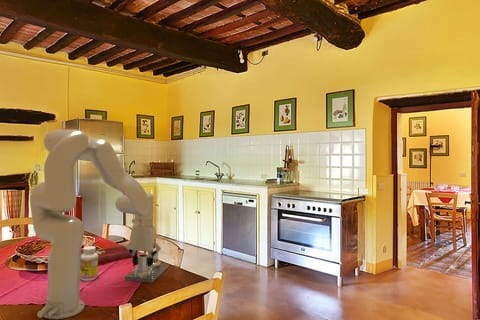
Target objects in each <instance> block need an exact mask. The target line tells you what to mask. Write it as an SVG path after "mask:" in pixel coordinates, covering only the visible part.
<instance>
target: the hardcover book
mask: <svg viewBox="0 0 480 320" xmlns="http://www.w3.org/2000/svg"><path fill="white" fill-rule="evenodd" d="M95 253H97V254H98V266H100V265H103V264H107V263H112V262H113V263H114V262H117V261H122V260H127V259H133V256H132V254H131V253H130V252H129V250H128V249H127V248H126V245H124V244H122V245H121V244H120V245H117V246H111V247H105V248H104V247H103V248H99V249H96V250H95Z"/></svg>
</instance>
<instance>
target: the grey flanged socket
mask: <svg viewBox="0 0 480 320" xmlns="http://www.w3.org/2000/svg"><path fill="white" fill-rule="evenodd" d="M148 258H149V255H148V253H140V254H138V255H137V265H135V266H136V267H135V268H134V269H135V270H134V269H132V271H133V275H134V277H141V278H144V277H149V276H150V274H152V269H150V267H148Z"/></svg>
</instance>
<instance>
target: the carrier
mask: <svg viewBox="0 0 480 320" xmlns="http://www.w3.org/2000/svg"><path fill="white" fill-rule="evenodd" d="M147 254H148V253H147ZM148 255H149V254H148ZM169 265H170V264H169V263H162V262H161V260H160V259H159V251H158V252H157V253H156V254H155V255H154V256H153V264H152V265H151V266H150V269H152V274H150V276H149V277H144V278H141V277H134V275H133V270H135V268H134V269H133V270H131V271H130V272H129V273H128V274H126V275H125V276H124V281H130V282H139V283H148V284H149V283H154V282H155V281H156V279H158V278H159V277H160V276H161V275H162V274H163V273H164V272H165V271H166V270H167V269H168V268H169Z"/></svg>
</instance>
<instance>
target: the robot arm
mask: <svg viewBox="0 0 480 320" xmlns="http://www.w3.org/2000/svg"><path fill="white" fill-rule="evenodd" d="M43 138H44V139H43V146H44V148H45V149H46V150H47V152H49V153H48V155H47V157H46V159H45V162H44V165H43V178H44V179H43V180H44V181H43V182H42V181H41V182H39V183H38V184H36V185H35V186H34V187H33V189H32V191H31V192H30V193H31V194H30V195H29V196H30V197H29V202H30V203H29V204H30V211H31V218H32V219H31V220H32V226H33V232H34V234H35V235H36V236H37V237H38V238H39V239H41V240H43V241H46V242H50V243H51V244H52V245H51V248H50V250H49V253H48V257H47V291H46V292H47V294H46V296H47V300H46V301H45V306H43V307H42V308H41V310H39V311H37V317H38V318H45V319H49V320H60V319H61V320H62V319H67V318H70V317H74V316H75V315H78V314H79V313H81V312H82V311H83V310H84V309H85V302H84V301H83V300H82V299H80V297H81V296H80V293H81V289H80V288H81V279H80V259H81V255H82V253H81V252H82V244H83V240H84V237H85V236H84V235H85V226H84V224H83V221H82V220H80V219H79V218H77V217H76V216H74V215H69V214H63V213H68V212H70V211H72V210H73V209H74V208H75V207H76V204H77V191H76V182H75V166H76V165H75V164H76V162H77V160H78V161H82V162H91V163H93V165H94V167H95V169H96V171H97V172H98V174H99V176H100V178H101V179H102V181H103V182H104V183H105V184H107V186H110V187H111V188H114V190H117V191H119V192H120V193H122V195H120V196H118V197H117V198H116V200H115V208H116V209H117V211H119V212H121V213H124V214H129V215H134V219H131V223H132V224H134V225H133V226H132V228H131V231H130V237H129V238H130V239H129V242H128V243H127V244H126V245H125V246H126V248H127V249H128V250H129V252H130V253H131V254H132V256H133V257H132V263H133V265H132V266H133V267H135V266H137V255H139V254H138V252H147V254H149V258H148V267H150V266H151V265H152V264H153V256H154V255H155V254H156V253H157V252H158V253H159V251H160V250H162V247H160V245H159V244H158V243H157V236H156V235H157V234H156V228H155V225H154V211H155V210H154V209H155V208H154V206H155V195H154V194H153V193H149V192H146V191H145V188H143V186H142V185H141V183H140V182H139V181H137V180H136V179H135V178H134V177H133V176H132V175H130V173H129V172H127V171H126V170H125V168H124V167H123V164H122V162H121V160H120V159H119V157H118V155H117V153H116V151H115V149H114V148H113V146H112V144H111V142H109V141H108V140H106V139H104V138H94V137H93V138H89V136H88V134H87V133H86V132H84V131H83V130H79V129H54V130H53V129H52V130H51V131H49V132H47V133H46V135H45V136H44V137H43ZM154 249H155V250H154Z"/></svg>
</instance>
